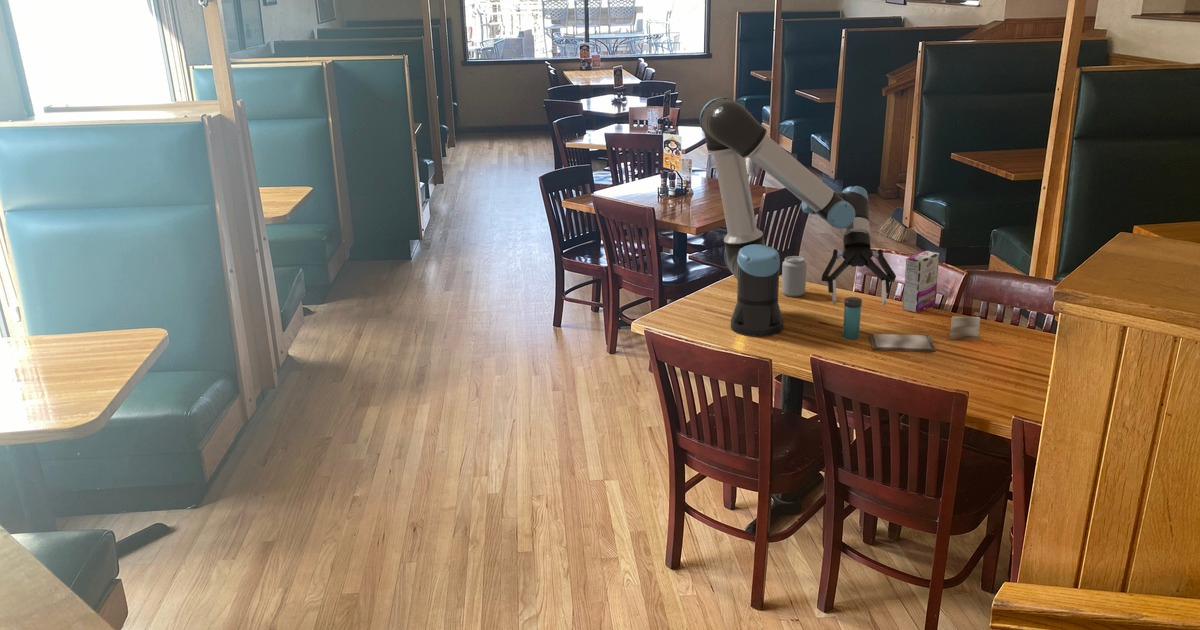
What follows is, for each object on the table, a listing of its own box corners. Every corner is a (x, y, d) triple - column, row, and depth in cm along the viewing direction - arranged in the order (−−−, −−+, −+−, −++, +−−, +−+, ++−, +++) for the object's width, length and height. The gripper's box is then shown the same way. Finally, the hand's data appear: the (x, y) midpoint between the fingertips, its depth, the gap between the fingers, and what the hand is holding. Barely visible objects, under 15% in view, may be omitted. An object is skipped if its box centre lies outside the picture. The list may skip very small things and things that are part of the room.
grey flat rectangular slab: (872, 350, 234) (873, 344, 233) (868, 335, 244) (869, 330, 243) (935, 352, 231) (936, 346, 230) (928, 337, 241) (929, 331, 240)
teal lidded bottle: (842, 339, 242) (845, 302, 238) (841, 333, 246) (844, 296, 242) (860, 340, 241) (862, 302, 237) (858, 334, 245) (861, 297, 242)
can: (781, 297, 278) (783, 261, 274) (781, 290, 285) (782, 254, 281) (805, 297, 276) (807, 261, 272) (804, 290, 283) (806, 255, 279)
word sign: (948, 339, 239) (951, 317, 237) (947, 337, 240) (950, 315, 238) (979, 340, 237) (982, 318, 235) (978, 338, 239) (981, 316, 237)
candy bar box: (920, 301, 270) (925, 249, 264) (935, 304, 266) (940, 252, 260) (901, 309, 263) (905, 257, 257) (916, 313, 259) (921, 260, 254)
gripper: (899, 242, 254) (903, 308, 246) (811, 242, 258) (812, 307, 250) (903, 230, 247) (908, 297, 239) (813, 230, 252) (814, 296, 243)
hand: (859, 303), depth 244 cm, fingers open, 13 cm apart
